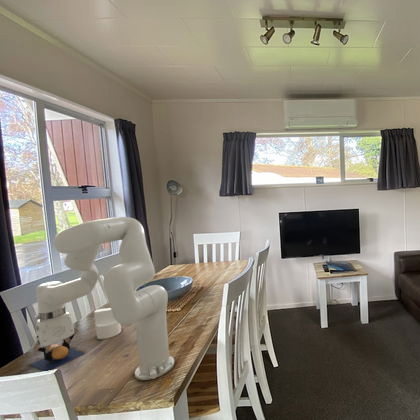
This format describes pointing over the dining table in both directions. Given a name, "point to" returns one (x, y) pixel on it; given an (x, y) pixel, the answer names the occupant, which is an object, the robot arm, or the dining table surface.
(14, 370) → the dining table surface
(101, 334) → the base with upright slab
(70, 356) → the napkin
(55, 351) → the bread roll
